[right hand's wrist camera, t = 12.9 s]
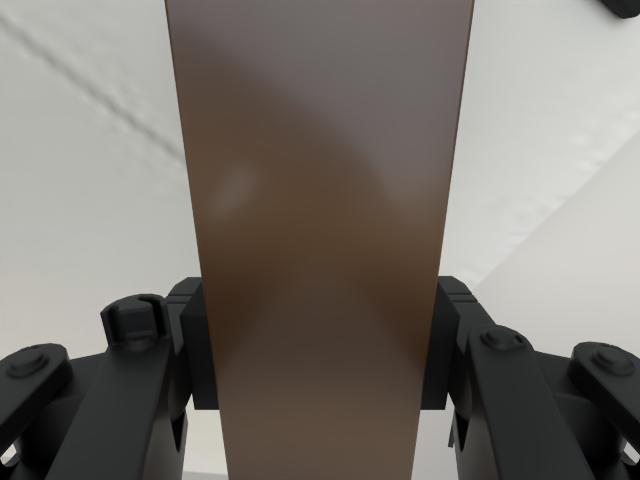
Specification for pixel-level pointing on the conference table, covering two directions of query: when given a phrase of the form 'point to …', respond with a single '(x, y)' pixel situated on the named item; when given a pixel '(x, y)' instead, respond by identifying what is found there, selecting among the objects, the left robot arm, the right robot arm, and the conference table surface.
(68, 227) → the conference table surface
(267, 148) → the bar
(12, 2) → the conference table surface
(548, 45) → the conference table surface
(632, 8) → the handheld gaming console
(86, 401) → the right robot arm
